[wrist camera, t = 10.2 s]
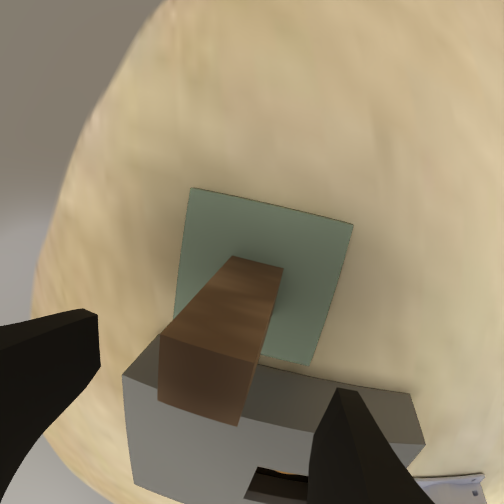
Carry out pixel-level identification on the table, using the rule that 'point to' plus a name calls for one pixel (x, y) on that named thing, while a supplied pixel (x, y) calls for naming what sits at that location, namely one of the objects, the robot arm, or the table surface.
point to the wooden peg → (218, 341)
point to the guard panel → (244, 436)
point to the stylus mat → (267, 262)
